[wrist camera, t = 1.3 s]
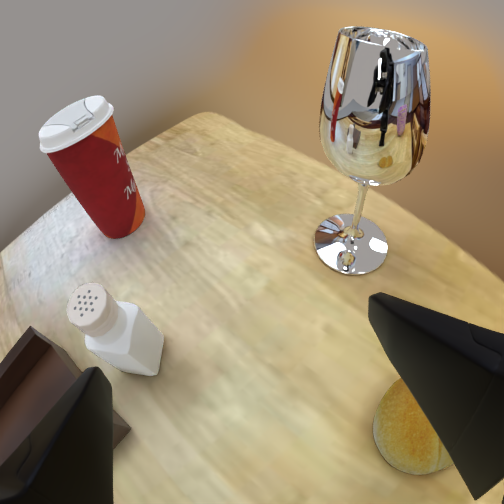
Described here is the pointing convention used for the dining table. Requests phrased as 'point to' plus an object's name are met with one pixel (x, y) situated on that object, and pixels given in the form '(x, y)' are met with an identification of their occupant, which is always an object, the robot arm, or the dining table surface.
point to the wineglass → (370, 133)
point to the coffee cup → (94, 164)
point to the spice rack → (36, 389)
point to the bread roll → (407, 434)
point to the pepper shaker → (116, 330)
